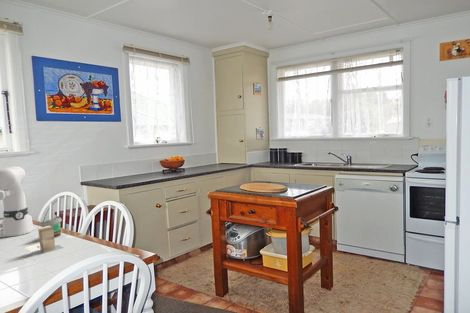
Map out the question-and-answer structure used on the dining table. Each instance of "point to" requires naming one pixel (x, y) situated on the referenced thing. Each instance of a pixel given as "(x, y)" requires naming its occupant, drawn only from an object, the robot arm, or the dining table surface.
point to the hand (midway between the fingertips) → (10, 191)
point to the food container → (54, 225)
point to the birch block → (46, 238)
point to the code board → (39, 252)
